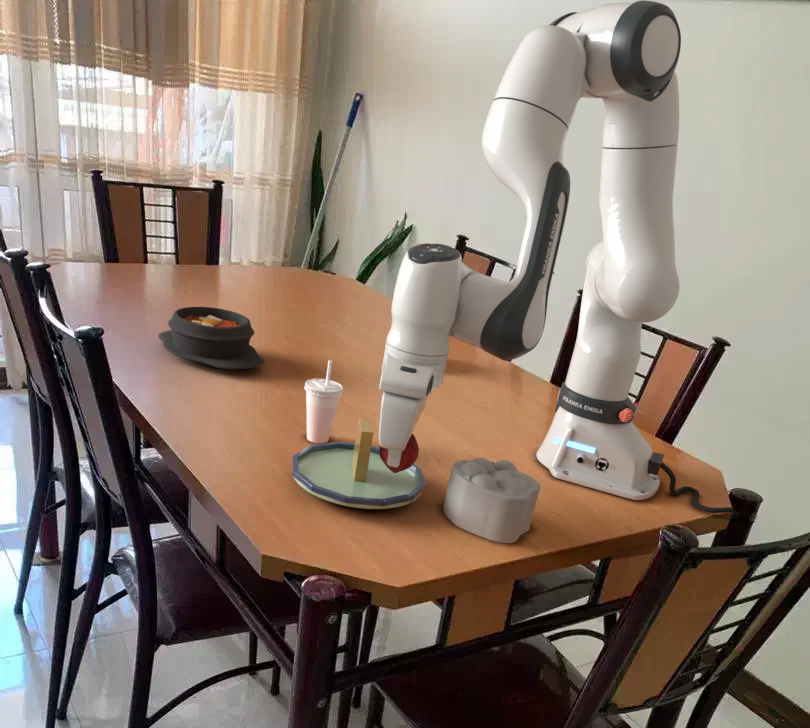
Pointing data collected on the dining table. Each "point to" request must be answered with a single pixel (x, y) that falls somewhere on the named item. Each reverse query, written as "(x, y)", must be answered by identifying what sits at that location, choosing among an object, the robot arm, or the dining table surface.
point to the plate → (342, 478)
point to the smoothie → (321, 406)
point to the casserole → (211, 338)
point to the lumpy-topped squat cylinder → (491, 499)
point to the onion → (403, 455)
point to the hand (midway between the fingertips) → (397, 455)
